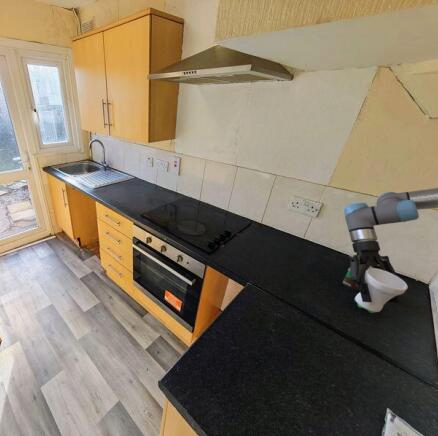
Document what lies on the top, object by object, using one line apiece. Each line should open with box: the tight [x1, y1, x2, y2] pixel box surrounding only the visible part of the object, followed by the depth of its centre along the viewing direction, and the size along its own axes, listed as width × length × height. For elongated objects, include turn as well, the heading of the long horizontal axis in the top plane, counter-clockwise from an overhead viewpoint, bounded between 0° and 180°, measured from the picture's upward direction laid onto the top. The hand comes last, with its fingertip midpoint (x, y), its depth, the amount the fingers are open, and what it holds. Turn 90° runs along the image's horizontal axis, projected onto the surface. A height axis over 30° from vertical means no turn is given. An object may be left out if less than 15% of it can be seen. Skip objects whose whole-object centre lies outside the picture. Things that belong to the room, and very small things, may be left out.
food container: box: [341, 266, 373, 291], centre depth 98 cm, size 12×6×10 cm, turn 105°
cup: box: [354, 268, 409, 314], centre depth 84 cm, size 11×11×14 cm
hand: (380, 302), depth 82 cm, fingers closed on cup, 10 cm apart
